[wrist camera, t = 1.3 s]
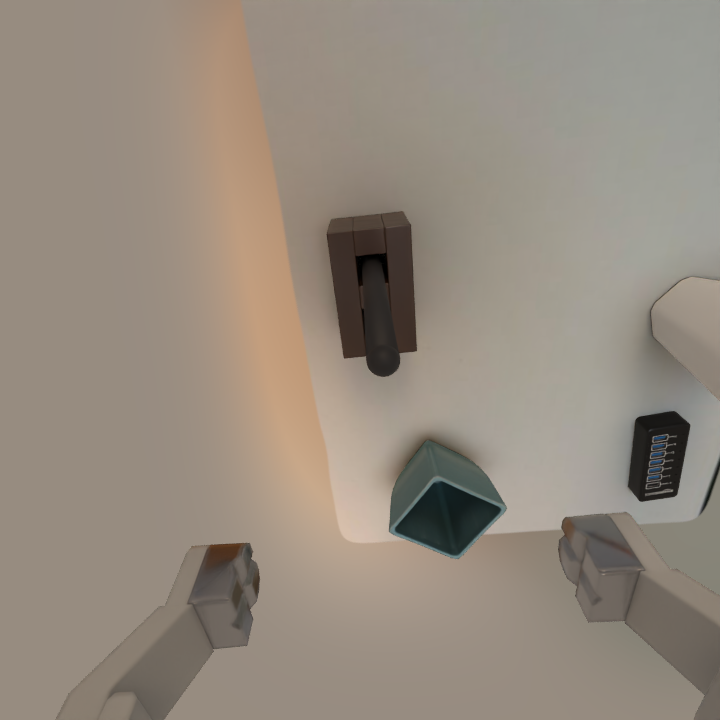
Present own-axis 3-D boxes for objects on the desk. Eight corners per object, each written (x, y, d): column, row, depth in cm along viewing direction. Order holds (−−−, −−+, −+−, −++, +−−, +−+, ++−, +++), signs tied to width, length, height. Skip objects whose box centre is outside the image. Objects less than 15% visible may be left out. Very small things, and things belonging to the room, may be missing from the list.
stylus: (357, 253, 39) (360, 371, 20) (368, 239, 39) (381, 346, 19) (371, 263, 40) (387, 388, 20) (382, 249, 39) (408, 364, 20)
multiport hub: (677, 410, 48) (691, 423, 46) (665, 482, 53) (677, 497, 51) (635, 417, 48) (648, 430, 46) (627, 488, 53) (638, 502, 51)
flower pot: (422, 419, 48) (435, 475, 40) (485, 449, 50) (510, 508, 42) (381, 471, 51) (386, 533, 43) (442, 497, 54) (457, 561, 46)
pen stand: (345, 330, 43) (343, 358, 37) (330, 219, 38) (326, 233, 32) (409, 324, 43) (416, 351, 37) (403, 211, 38) (410, 224, 32)
